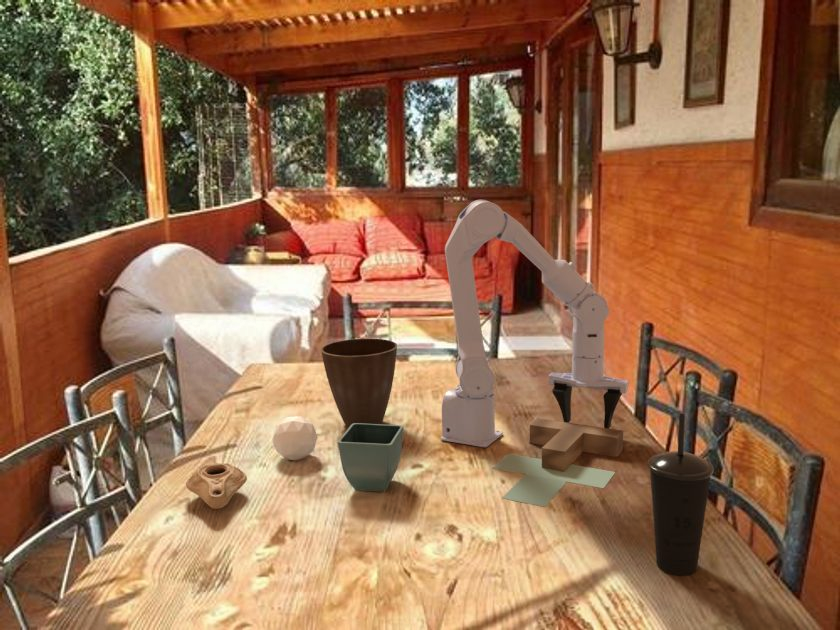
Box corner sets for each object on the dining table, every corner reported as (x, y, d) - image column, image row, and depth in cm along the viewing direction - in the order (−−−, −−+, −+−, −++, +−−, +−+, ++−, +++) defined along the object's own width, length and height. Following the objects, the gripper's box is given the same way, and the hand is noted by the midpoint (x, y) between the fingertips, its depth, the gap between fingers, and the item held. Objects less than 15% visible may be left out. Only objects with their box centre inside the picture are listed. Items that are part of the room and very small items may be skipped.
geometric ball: (293, 468, 136) (294, 426, 140) (326, 460, 132) (326, 416, 136) (262, 460, 131) (264, 416, 134) (295, 451, 127) (297, 406, 130)
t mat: (466, 491, 118) (466, 490, 118) (508, 454, 133) (508, 453, 133) (584, 515, 109) (584, 514, 109) (615, 472, 123) (615, 471, 123)
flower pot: (393, 498, 116) (391, 444, 114) (339, 495, 118) (336, 441, 116) (406, 476, 125) (404, 424, 123) (355, 473, 126) (352, 422, 125)
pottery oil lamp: (189, 523, 109) (170, 478, 110) (205, 514, 121) (188, 473, 122) (245, 496, 111) (226, 452, 111) (256, 489, 123) (238, 450, 123)
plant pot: (311, 432, 147) (306, 353, 143) (347, 408, 160) (343, 336, 157) (381, 440, 141) (377, 358, 138) (411, 415, 154) (408, 340, 151)
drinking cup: (635, 552, 98) (639, 406, 94) (692, 548, 99) (698, 403, 95) (658, 584, 91) (664, 427, 87) (719, 579, 91) (727, 423, 87)
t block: (508, 461, 129) (508, 442, 128) (537, 436, 141) (537, 418, 140) (600, 478, 121) (600, 457, 120) (622, 449, 133) (623, 430, 132)
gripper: (543, 356, 138) (543, 426, 141) (622, 363, 131) (620, 437, 134) (555, 347, 144) (554, 415, 147) (631, 354, 137) (629, 424, 140)
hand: (587, 424), depth 141 cm, fingers open, 7 cm apart
